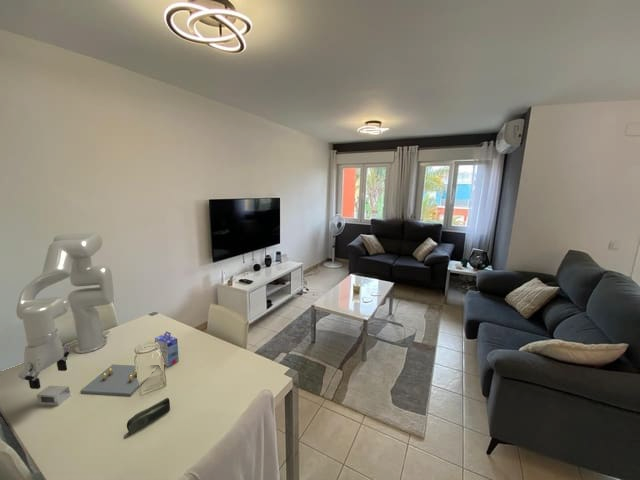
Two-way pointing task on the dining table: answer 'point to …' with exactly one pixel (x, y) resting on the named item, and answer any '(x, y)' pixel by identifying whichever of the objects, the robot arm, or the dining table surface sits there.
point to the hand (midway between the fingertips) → (49, 378)
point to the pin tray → (114, 381)
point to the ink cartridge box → (168, 348)
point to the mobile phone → (147, 416)
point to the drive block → (53, 395)
